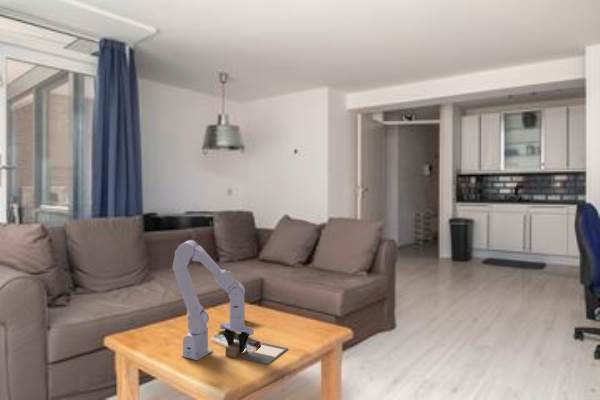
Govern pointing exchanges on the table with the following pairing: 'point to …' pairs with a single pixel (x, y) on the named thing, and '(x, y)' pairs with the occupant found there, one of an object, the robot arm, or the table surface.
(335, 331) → the table surface
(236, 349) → the banded brown carton
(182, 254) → the robot arm
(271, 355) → the mat
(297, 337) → the table surface
